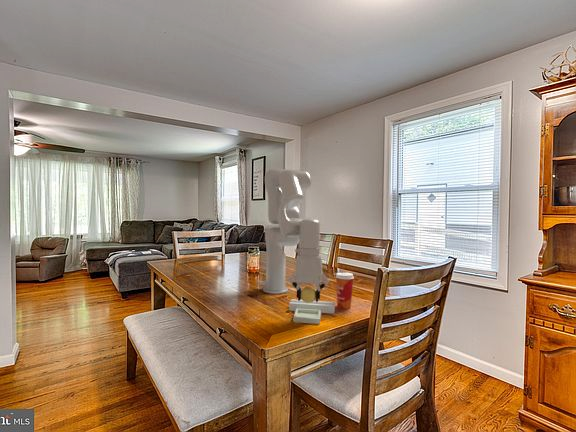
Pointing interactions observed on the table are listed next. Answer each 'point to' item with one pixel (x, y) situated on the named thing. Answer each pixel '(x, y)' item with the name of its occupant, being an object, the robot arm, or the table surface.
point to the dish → (307, 316)
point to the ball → (308, 294)
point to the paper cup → (344, 290)
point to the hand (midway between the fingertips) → (308, 299)
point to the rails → (312, 306)
